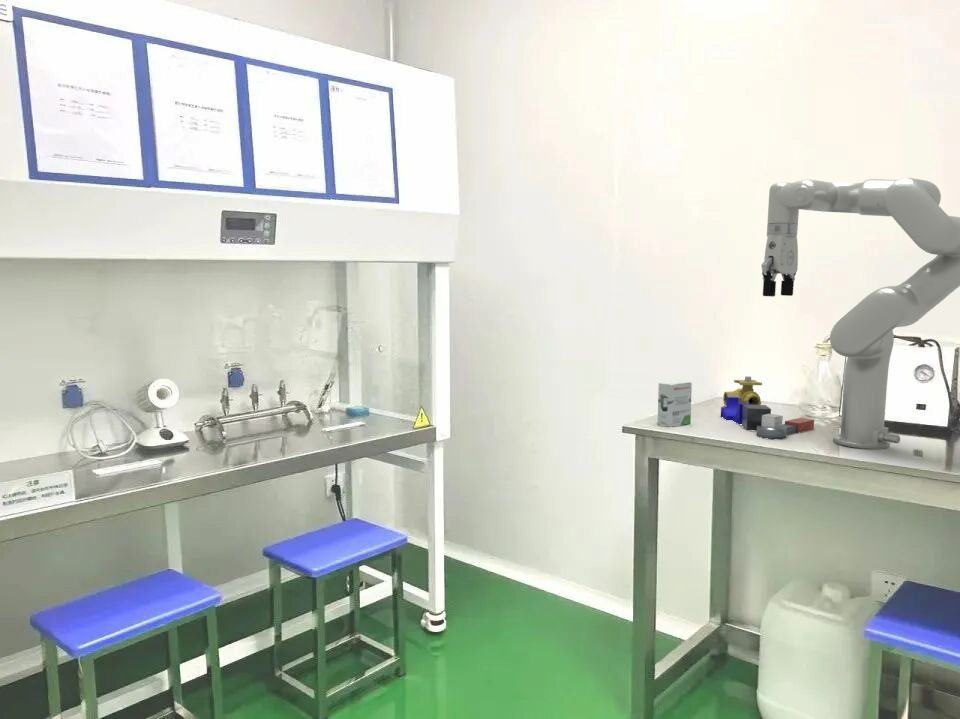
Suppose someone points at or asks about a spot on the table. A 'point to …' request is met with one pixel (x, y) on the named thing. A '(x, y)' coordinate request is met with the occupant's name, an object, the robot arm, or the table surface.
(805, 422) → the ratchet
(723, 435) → the table surface
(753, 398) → the ball valve
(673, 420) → the ink box
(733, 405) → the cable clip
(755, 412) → the dark cube on disc
